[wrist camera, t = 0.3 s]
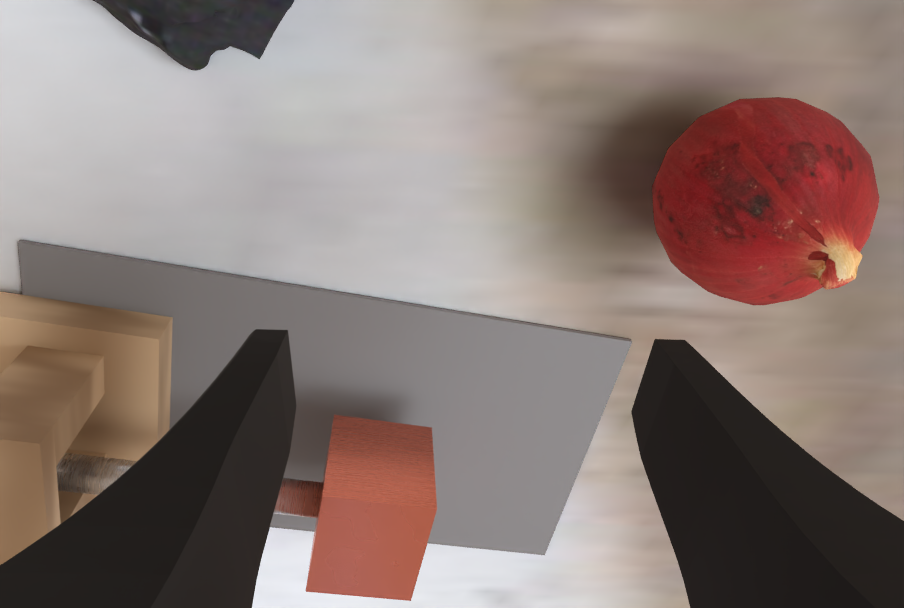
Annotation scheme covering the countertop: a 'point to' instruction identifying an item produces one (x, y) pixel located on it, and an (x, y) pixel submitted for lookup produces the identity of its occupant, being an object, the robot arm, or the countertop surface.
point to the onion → (766, 201)
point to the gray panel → (381, 381)
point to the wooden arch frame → (72, 402)
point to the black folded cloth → (201, 25)
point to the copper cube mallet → (340, 505)
